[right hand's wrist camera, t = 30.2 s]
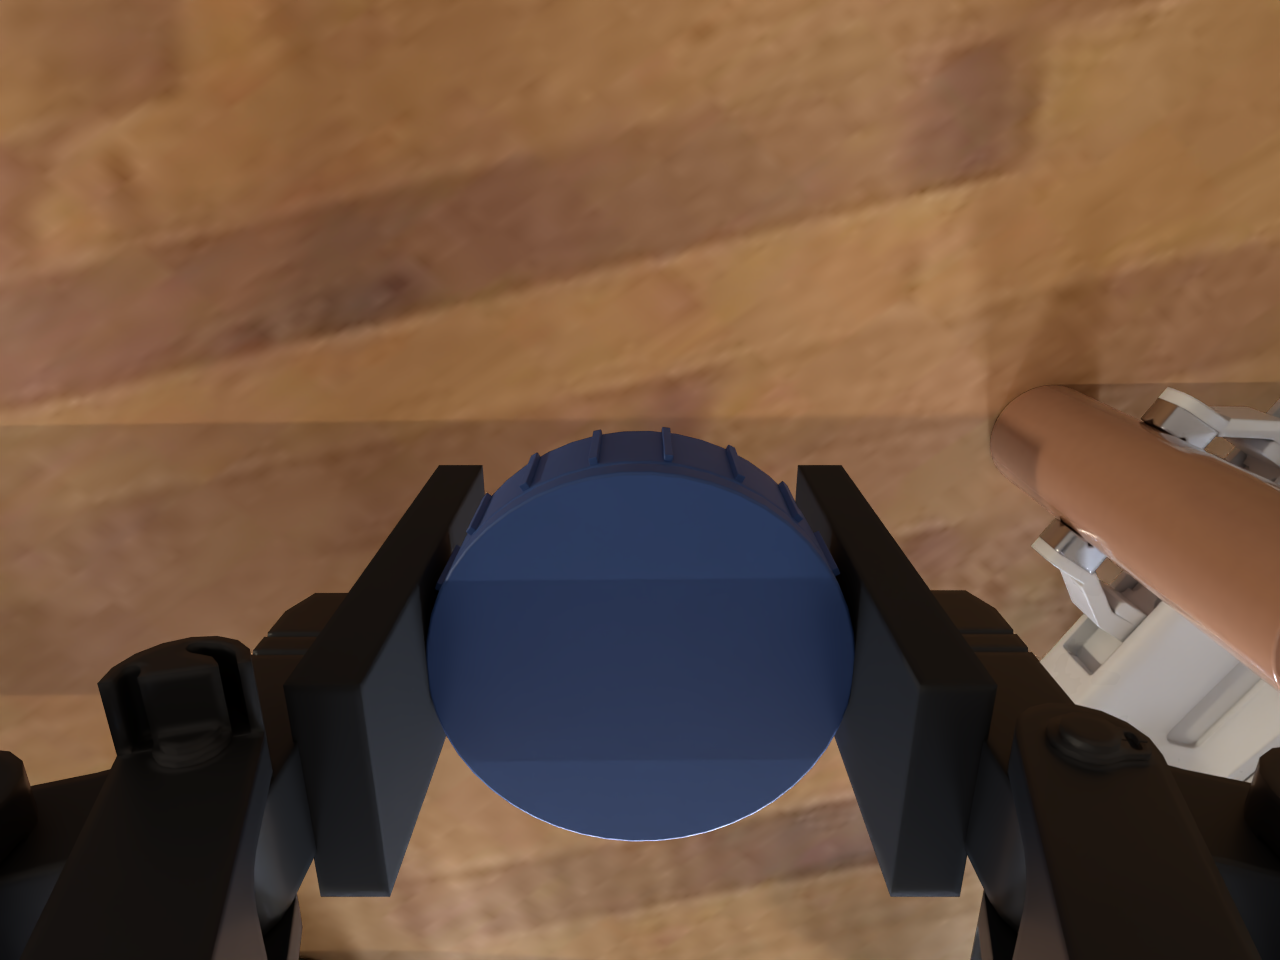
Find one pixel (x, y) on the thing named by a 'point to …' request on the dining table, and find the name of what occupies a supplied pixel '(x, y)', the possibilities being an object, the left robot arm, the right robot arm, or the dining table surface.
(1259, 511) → the jar
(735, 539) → the lid
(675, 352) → the dining table surface
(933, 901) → the dining table surface
